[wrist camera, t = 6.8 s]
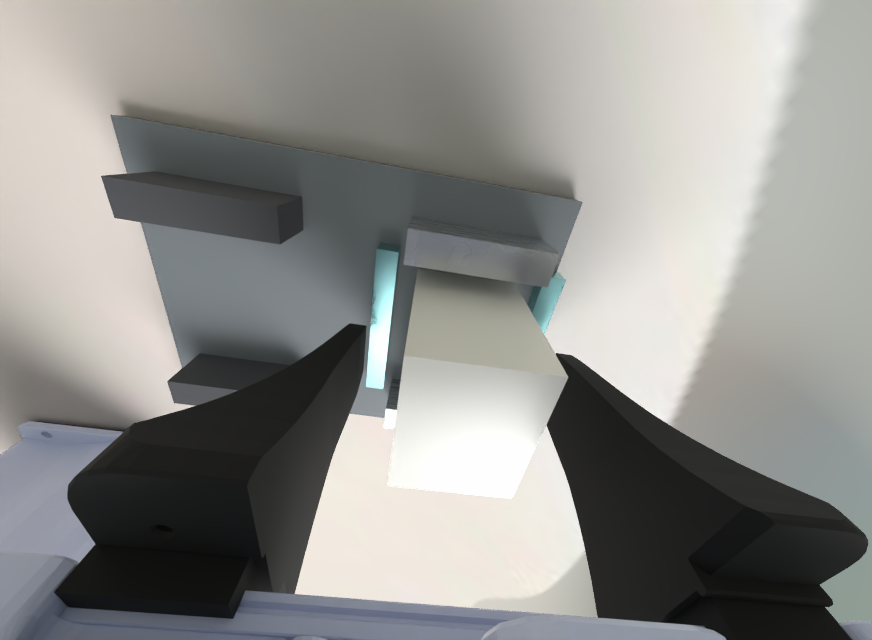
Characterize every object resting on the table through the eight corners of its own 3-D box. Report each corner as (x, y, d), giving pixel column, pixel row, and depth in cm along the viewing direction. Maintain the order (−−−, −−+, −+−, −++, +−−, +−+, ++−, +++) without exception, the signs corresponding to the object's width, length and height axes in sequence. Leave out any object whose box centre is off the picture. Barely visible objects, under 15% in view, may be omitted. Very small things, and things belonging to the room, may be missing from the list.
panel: (197, 385, 16) (189, 393, 16) (126, 116, 11) (110, 114, 10) (494, 423, 18) (496, 431, 17) (575, 199, 12) (582, 202, 11)
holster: (204, 373, 15) (174, 402, 13) (155, 171, 11) (101, 175, 9) (309, 386, 16) (293, 416, 14) (302, 196, 11) (277, 206, 9)
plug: (404, 366, 15) (386, 486, 10) (418, 268, 12) (403, 355, 7) (486, 377, 15) (512, 498, 10) (514, 282, 13) (568, 376, 8)
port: (367, 394, 16) (358, 425, 14) (382, 210, 11) (372, 222, 10) (505, 411, 16) (513, 443, 15) (569, 243, 12) (592, 259, 10)
